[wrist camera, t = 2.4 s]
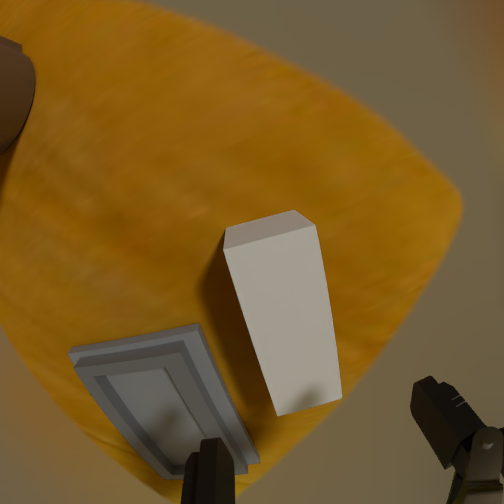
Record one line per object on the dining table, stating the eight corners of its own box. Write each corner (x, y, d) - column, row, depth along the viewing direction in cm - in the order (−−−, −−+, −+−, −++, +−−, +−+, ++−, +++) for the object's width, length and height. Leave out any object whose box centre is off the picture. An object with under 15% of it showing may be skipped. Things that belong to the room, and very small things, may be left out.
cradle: (159, 465, 25) (156, 481, 23) (72, 347, 20) (59, 363, 18) (259, 455, 25) (261, 473, 23) (199, 323, 20) (195, 342, 18)
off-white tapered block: (269, 371, 22) (277, 416, 17) (225, 228, 18) (223, 249, 14) (323, 356, 22) (342, 397, 17) (294, 209, 18) (315, 225, 14)
